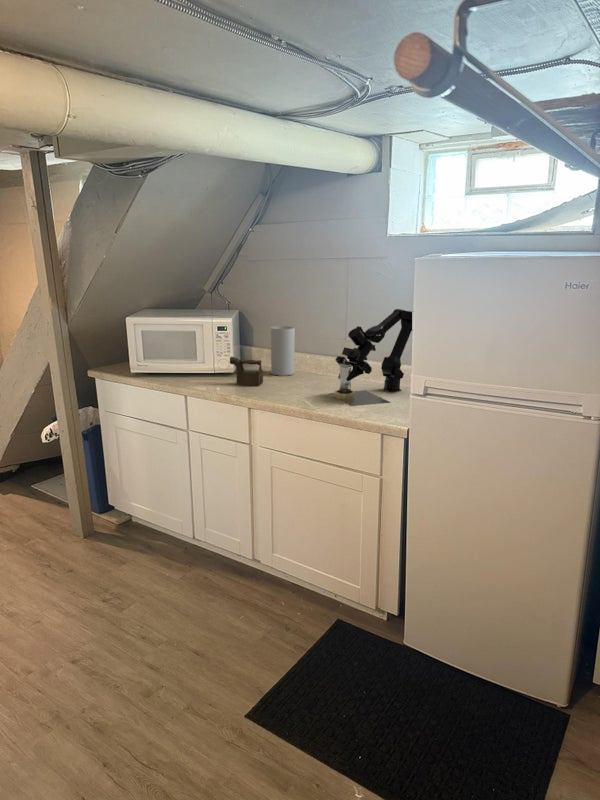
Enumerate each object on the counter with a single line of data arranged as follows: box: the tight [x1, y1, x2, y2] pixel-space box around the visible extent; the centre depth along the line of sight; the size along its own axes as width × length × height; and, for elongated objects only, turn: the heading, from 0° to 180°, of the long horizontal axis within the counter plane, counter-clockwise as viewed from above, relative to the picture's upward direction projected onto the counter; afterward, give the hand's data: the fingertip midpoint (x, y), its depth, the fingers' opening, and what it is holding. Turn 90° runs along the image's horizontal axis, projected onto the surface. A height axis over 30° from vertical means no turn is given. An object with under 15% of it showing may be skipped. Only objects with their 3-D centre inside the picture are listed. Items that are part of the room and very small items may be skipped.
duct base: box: [328, 389, 392, 407], centre depth 245 cm, size 19×24×3 cm
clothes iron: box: [229, 356, 264, 387], centre depth 273 cm, size 8×16×13 cm, turn 77°
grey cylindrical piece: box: [338, 363, 353, 394], centre depth 244 cm, size 5×5×13 cm
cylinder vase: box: [270, 325, 296, 377], centre depth 296 cm, size 12×12×25 cm
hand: (343, 379), depth 244 cm, fingers closed on grey cylindrical piece, 5 cm apart
